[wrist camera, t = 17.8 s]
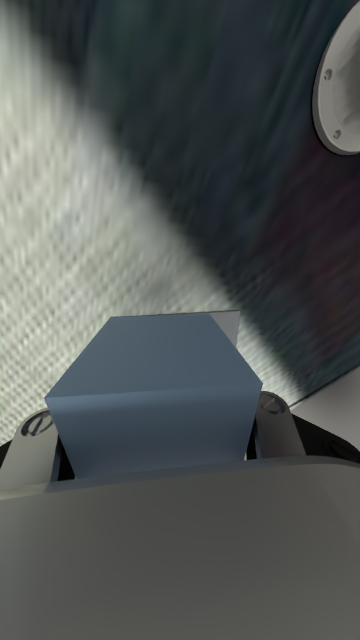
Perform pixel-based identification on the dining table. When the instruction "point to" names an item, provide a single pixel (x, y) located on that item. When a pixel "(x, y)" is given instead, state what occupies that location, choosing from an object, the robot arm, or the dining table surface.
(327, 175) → the dining table surface
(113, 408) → the cube
